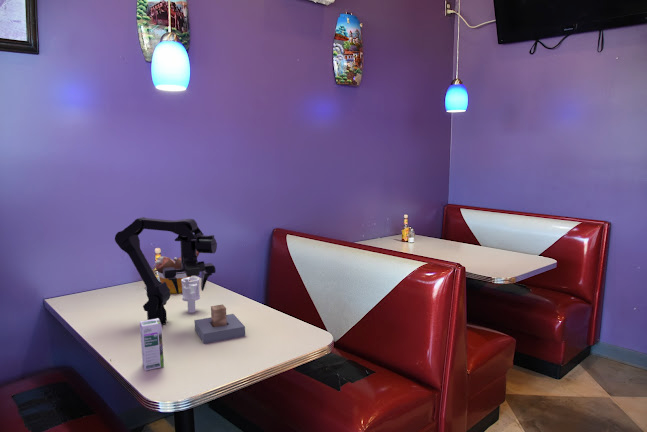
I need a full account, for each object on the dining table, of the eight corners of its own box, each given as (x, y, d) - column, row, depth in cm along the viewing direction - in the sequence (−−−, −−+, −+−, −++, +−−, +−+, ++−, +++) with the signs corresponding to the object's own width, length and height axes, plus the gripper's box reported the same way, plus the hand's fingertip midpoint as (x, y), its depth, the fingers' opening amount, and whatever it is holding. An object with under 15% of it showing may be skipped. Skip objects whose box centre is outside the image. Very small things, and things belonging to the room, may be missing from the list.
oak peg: (214, 333, 174) (213, 309, 173) (211, 329, 178) (210, 306, 177) (226, 331, 176) (226, 308, 175) (223, 327, 180) (222, 304, 179)
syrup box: (144, 371, 147) (141, 326, 145) (142, 363, 152) (139, 320, 150) (164, 367, 150) (161, 323, 148) (161, 360, 155) (158, 317, 153)
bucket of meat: (165, 299, 217) (163, 256, 214) (150, 291, 229) (147, 250, 226) (205, 289, 230) (203, 249, 227) (188, 282, 242) (186, 244, 239)
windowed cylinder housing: (180, 314, 197) (178, 278, 195) (186, 308, 204) (185, 274, 202) (196, 314, 196) (195, 279, 194) (203, 308, 203) (201, 274, 201)
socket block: (203, 343, 167) (203, 333, 167) (194, 329, 181) (194, 320, 180) (245, 335, 174) (244, 326, 173) (233, 322, 187) (233, 313, 187)
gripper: (166, 259, 170) (168, 302, 172) (218, 254, 178) (219, 294, 180) (161, 253, 180) (163, 293, 182) (211, 248, 188) (212, 287, 190)
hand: (190, 292), depth 184 cm, fingers open, 9 cm apart
